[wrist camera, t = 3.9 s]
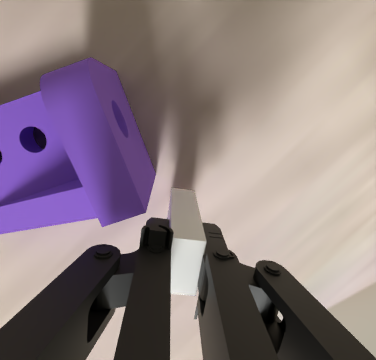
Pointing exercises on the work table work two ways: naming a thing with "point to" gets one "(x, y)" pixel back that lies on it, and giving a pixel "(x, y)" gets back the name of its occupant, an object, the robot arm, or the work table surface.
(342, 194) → the work table surface
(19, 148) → the bracket
